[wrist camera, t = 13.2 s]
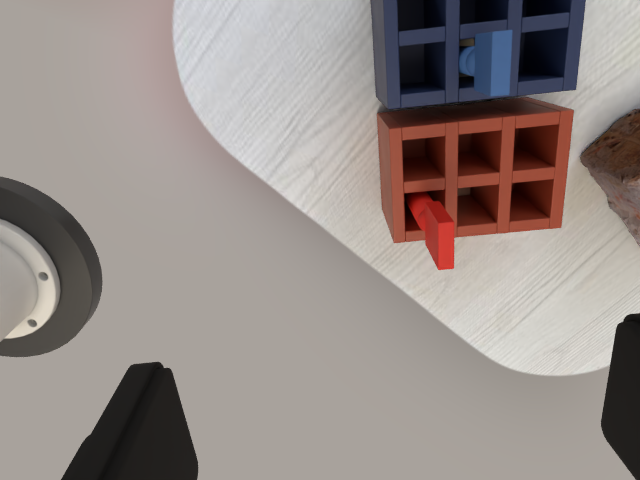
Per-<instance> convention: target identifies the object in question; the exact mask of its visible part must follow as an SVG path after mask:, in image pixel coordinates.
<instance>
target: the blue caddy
mask: <svg viewBox="0 0 640 480" xmlns="http://www.w3.org/2000/svg"><path fill="white" fill-rule="evenodd" d="M585 2H586V0H371V14H372V32H373V51H374V69H375V88H376V97H377V98H378V99H379V100H380V101H381V102H382V103H383V104H384V105H385V106H386V107H387V108H388V109H398V108H408V107H417V106H427V105H436V104H444V103H454V102H465V101H474V100H484V99H493V98H502V97H512V96H521V95H531V94H540V93H550V92H559V91H569V90H575V89H576V85H577V75H578V66H579V57H580V48H581V39H582V29H583V20H584V11H585ZM504 30H512V51H511V72H510V93H509V95H503V96H493V97H491V96H488V95H485V94H483V93H480V92H477V91H475V90H474V76H470V75H466V74H462V73H459V46H475V34H480V33H487V32H495V31H504Z"/></svg>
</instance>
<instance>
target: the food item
mask: <svg viewBox="0 0 640 480" xmlns="http://www.w3.org/2000/svg"><path fill="white" fill-rule="evenodd" d="M580 160H581V163H582V164H583V165H584V166H585V167H587V168H588V170H589V172H590V174H591V176H592V177H594V179H595V180H596V182H597V183H598V184H599V185H600V186H601V188H602V190H603V191H604V192H605V193H606V194H607V196H608V203H609V207H610V208H611V209H612V210H613V211H614V212H616V213H617V214H618V215H619V216H620V217H621V219H622V220H623V221H624V223H625V224H626V226H627V227H628V230H629V232H630V233H632V235H633V237H634V238H635V240H636V241H637V243H638V245H639V246H640V109H634V110H633V111H631V112H630V113H628V114H627V115H626V116H624V117H623V118H620V119H619V120H618V121H616V122H615V123H614V124H613V125H612V126H611V128H610V129H609V130H608V131H607V132H606V133H604V134H603V135H602V136H601V137H600V138H599V139H598V140H597V141H595V142H594V143H593V144H592V145H591V146H590V147H589V148H588V149H587V150H586V151H585V152H584V153H583V154H582V155H581V157H580Z"/></svg>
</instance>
